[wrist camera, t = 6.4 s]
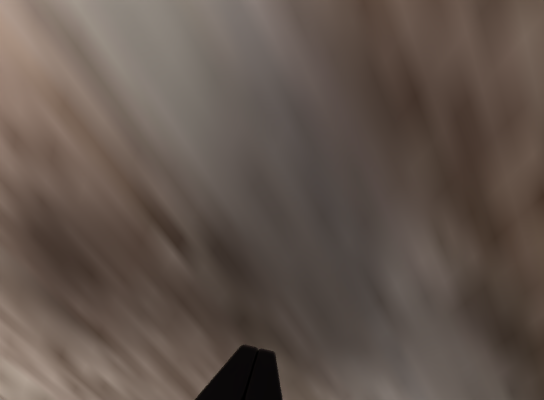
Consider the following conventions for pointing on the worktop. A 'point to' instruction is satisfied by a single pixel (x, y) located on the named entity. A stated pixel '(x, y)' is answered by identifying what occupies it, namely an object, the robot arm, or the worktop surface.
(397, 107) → the worktop surface
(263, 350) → the robot arm
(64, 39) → the worktop surface
